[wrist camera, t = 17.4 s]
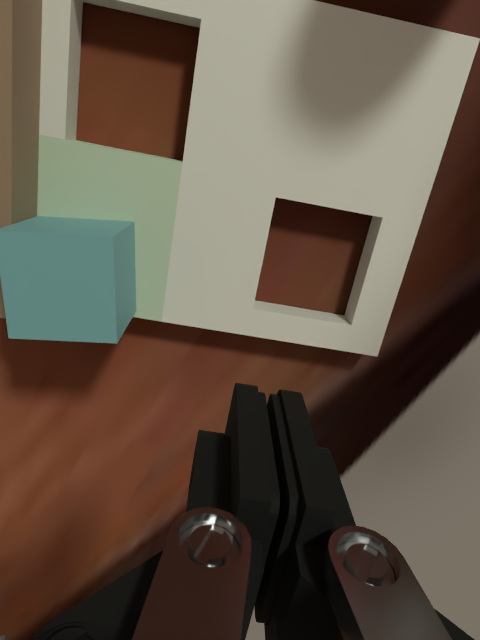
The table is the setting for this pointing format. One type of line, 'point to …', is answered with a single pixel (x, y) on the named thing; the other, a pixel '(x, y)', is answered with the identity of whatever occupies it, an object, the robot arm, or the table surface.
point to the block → (68, 278)
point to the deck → (242, 151)
